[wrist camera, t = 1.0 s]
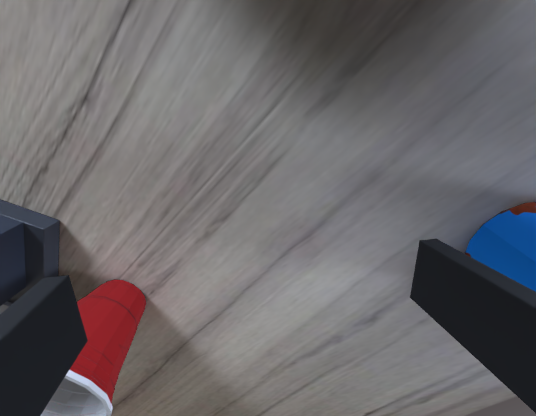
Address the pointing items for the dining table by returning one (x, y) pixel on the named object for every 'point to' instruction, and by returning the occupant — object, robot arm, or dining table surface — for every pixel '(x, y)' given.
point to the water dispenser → (25, 251)
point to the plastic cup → (99, 350)
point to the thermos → (509, 244)
